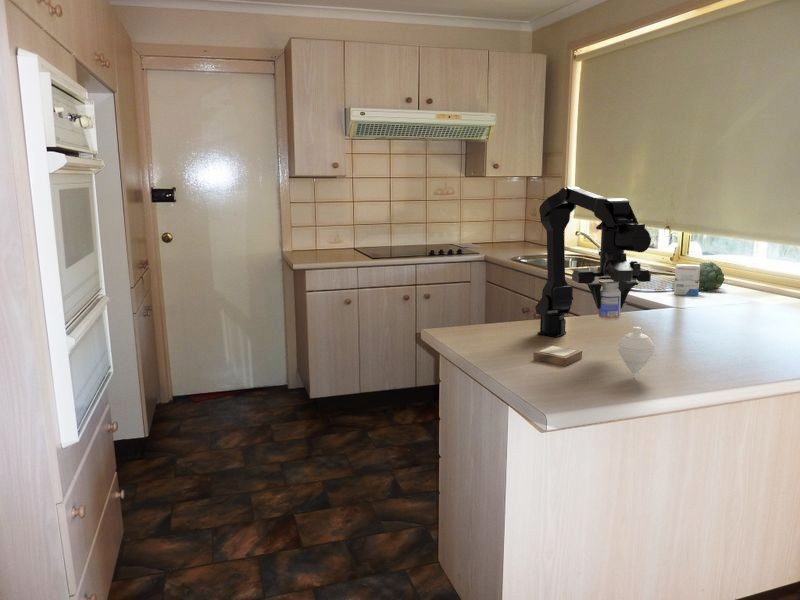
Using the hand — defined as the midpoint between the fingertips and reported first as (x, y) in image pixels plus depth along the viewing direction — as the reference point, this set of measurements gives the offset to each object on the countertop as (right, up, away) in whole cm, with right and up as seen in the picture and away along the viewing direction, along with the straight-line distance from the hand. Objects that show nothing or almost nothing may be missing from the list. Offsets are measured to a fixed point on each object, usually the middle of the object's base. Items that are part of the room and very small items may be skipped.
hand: (609, 308), depth 161 cm
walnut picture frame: (-14, -13, -1) cm, 19 cm away
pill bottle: (0, -3, +1) cm, 3 cm away
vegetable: (+72, +6, +94) cm, 119 cm away
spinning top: (0, -16, -17) cm, 23 cm away
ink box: (+59, +4, +85) cm, 104 cm away
